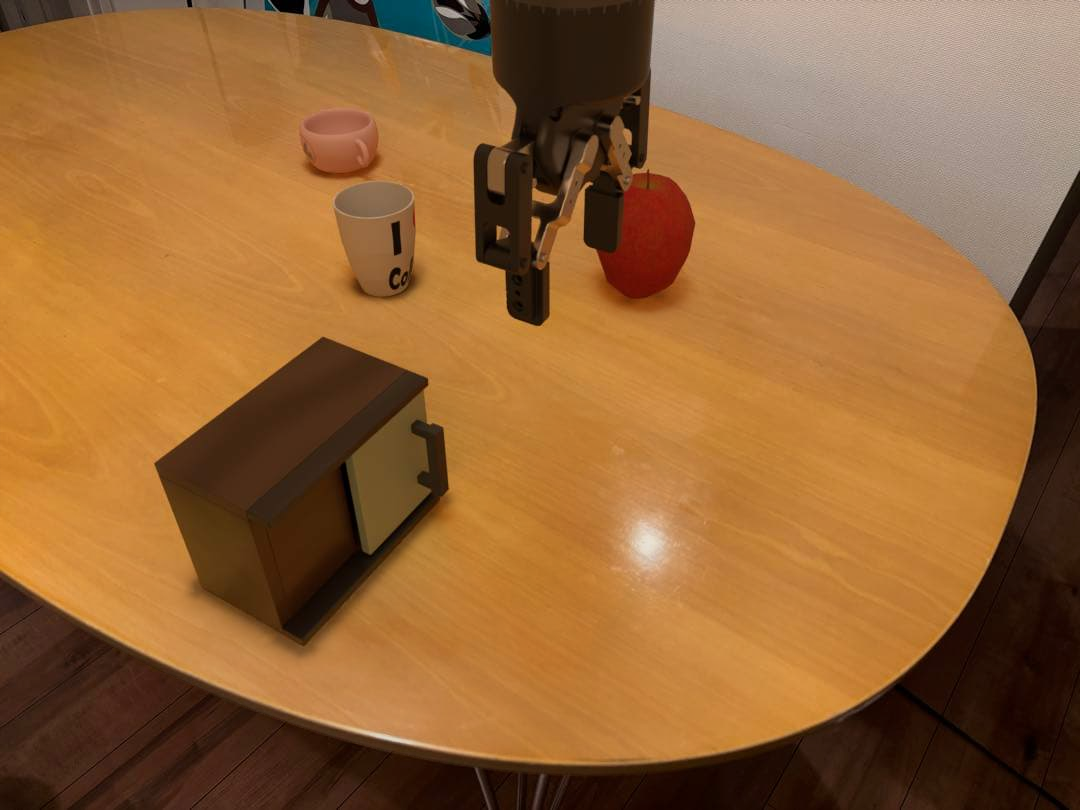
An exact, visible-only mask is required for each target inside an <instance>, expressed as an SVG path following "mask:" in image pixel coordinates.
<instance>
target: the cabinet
mask: <svg viewBox="0 0 1080 810" xmlns="http://www.w3.org/2000/svg"><path fill="white" fill-rule="evenodd" d="M428 387H429V377H427V376H424V375H421V374H419V373H416V372H414V371H411V370H408V369H406V368H404V367H401V366H399V365H396V364H394V363H391V362H389V361H386V360H384V359H381V358H378V357H376V356H374V355H371V354H368V353H365V352H364V351H361V350H358V349H356V348H353V347H350V346H348V345H346V344H343V343H341V342H337V341H335V340H333V339H330V338H328V337H325V336H321V337H320V338H319V339H317V340H316V341H315V342H313V343H312V344H311V345H310V346H308V347H307V348H305V349H304V350H303V351H302V352H300V353H299V354H297V355H296V356H294V357H293V358H292V359H291V360H289V361H288V362H286V363H285V364H284V365H283V366H282V367H280V368H279V369H278V370H276V371H275V372H273V373H272V374H271V375H269V376H268V377H267V378H265V379H264V380H263V381H261V382H260V383H259V384H258V385H256V386H255V387H253V388H252V389H251V390H249V391H248V392H247V393H245V394H244V395H242V397H240V398H239V399H238V400H236V401H234V402H233V403H232V404H231V405H230V406H228V407H226V408H225V409H224V410H223V411H221V412H220V413H219V414H217V415H216V416H215V417H213V418H212V419H211V420H209V421H208V422H207V423H205V424H204V425H203V426H201V427H200V428H199V429H197V430H196V431H195V432H193V433H192V434H190V436H188V437H187V438H185V439H184V440H183V441H182V442H180V443H179V444H178V445H176V446H175V447H173V448H172V449H171V450H169V451H167V453H166V454H164V455H163V456H161V457H160V458H159V459H157V460H156V461H155V462H154V463H153V465H154V467H155V470H156V472H157V475H158V478H159V481H160V482H161V486H162V488H163V491H164V493H165V495H166V499H167V501H168V503H169V506H170V509H171V511H172V514H173V517H174V519H175V521H176V524H177V527H178V529H179V532H180V534H181V537H182V539H183V542H184V545H185V548H186V550H187V552H188V556H189V557H190V558H189V559H190V561H191V563H192V565H193V568H194V571H195V573H196V576H197V579H198V581H199V584H200V586H201V588H203V589H204V590H206V591H208V592H209V593H211V594H213V595H215V596H216V597H218V598H220V599H221V600H223V601H224V602H226V603H228V604H229V605H232V606H234V607H235V608H237V609H239V610H240V611H242V612H244V613H246V614H247V615H249V616H250V617H253V618H255V619H256V620H258V621H259V622H261V623H264V625H267V626H268V627H270V628H272V629H273V630H275V631H276V632H278V633H280V634H282V635H283V636H286V637H288V638H289V639H291V640H292V641H295V642H296V643H298V644H299V645H302V646H305V645H306V644H307V643H308V641H310V640H311V639H312V638H313V636H315V634H316V633H317V632H318V631H319V630H320V629H321V628H322V627H323V626H324V624H326V622H327V621H328V620H329V619H330V618H331V617H332V616H333V615H334V614H335V613H336V612H337V611H338V610H339V608H341V607H342V605H343V604H345V602H346V601H347V600H348V599H349V598H350V597H351V596H352V595H353V594H354V593H355V591H356V590H357V589H358V588H360V586H361V585H362V584H363V583H364V582H365V581H366V580H367V578H368V577H369V576H371V574H373V572H374V571H375V570H376V569H377V568H378V567H379V566H380V565H381V564H382V563H383V561H385V560H386V558H388V556H389V555H390V554H391V553H392V552H393V551H394V550H395V549H396V548H397V547H398V546H399V544H401V542H402V541H403V540H404V539H405V538H406V537H407V536H408V535H409V534H410V533H411V532H412V531H413V530H414V528H415V527H416V526H417V525H418V524H419V523H420V522H421V521H422V520H423V519H424V518H425V516H427V514H428V513H429V512H430V511H431V510H432V509H433V508H434V507H435V506H436V505H437V503H439V501H440V500H441V497H440V496H438V495H436V494H434V493H432V492H430V493H429V494H428V495H427V497H426V498H425V499H424V500H423V501H422V502H421V503H420V504H419V505H418V506H417V507H416V508H415V509H414V510H413V511H412V512H411V513H410V514H409V515H408V516H407V517H406V519H405V520H404V521H403V522H402V523H401V524H400V525H399V526H398V527H397V528H396V529H395V530H394V531H393V532H392V533H391V534H390V535H389V536H388V537H387V538H386V539H385V541H384V542H383V543H382V544H381V545H380V546H379V547H378V548H377V549H376V550H375V551H374V552H373V553H372V554H371V555H369V554H367V553H365V552H363V551H362V545H361V540H360V535H359V530H358V525H357V519H356V514H355V509H354V504H353V499H352V493H351V488H350V483H349V478H348V472H347V467H346V462H345V461H346V460H347V459H348V458H349V457H350V456H351V455H353V454H354V453H355V452H356V451H357V450H358V449H359V448H360V447H361V446H362V445H363V444H365V443H366V442H367V441H368V440H369V439H370V438H371V437H372V436H373V435H374V434H376V433H377V432H378V431H379V430H380V429H381V428H382V427H383V426H384V425H385V424H387V423H388V422H389V421H390V420H391V419H392V418H393V417H394V416H395V415H396V414H398V413H399V412H400V411H401V410H402V409H403V408H404V407H405V406H406V405H407V404H408V403H410V402H411V401H412V400H413V399H414V398H415V397H416V396H417V395H418V394H419V393H421V392H422V391H423V390H424V391H425V389H426V388H428Z"/></svg>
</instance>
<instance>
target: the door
mask: <svg viewBox="0 0 1080 810" xmlns="http://www.w3.org/2000/svg"><path fill="white" fill-rule="evenodd" d="M425 397H426V396H425V389H424V390H423V391H422V392H421V393H419V394H418V395H417V396H416V397H415V398H414V399H413V400H412V401H411V402H410V403H408V404H407V405H406V406H405V407H404V408H403V409H402V410H401V411H400V412H399V413H398V414H396V415H395V416H394V417H393V418H392V419H391V420H390V421H389V422H388V423H387V424H385V425H384V426H383V427H382V428H381V429H380V430H379V431H378V432H377V433H376V434H374V435H373V436H372V437H371V438H370V439H369V440H368V441H367V442H366V443H365V444H363V445H362V446H361V447H360V448H359V449H358V450H357V451H356V452H355V453H354V454H353V455H351V456H350V457H349V458H348V459H347V460H346V461H345V462H346V467H347V472H348V478H349V483H350V488H351V493H352V499H353V504H354V509H355V514H356V519H357V525H358V530H359V535H360V540H361V545H362V551H363V552H365V553H367V554H369V555H371V554H372V553H373V552H374V551H375V550H376V549H377V548H378V547H379V546H380V545H381V544H382V543H383V542H384V541H385V539H386V538H387V537H388V536H389V535H390V534H391V533H392V532H393V531H394V530H395V529H396V528H397V527H398V526H399V525H400V524H401V523H402V522H403V521H404V520H405V519H406V517H407V516H408V515H409V514H410V513H411V512H412V511H413V510H414V509H415V508H416V507H417V506H418V505H419V504H420V503H421V502H422V501H423V500H424V499H425V498H426V497H427V495H428V494H429V493H430V492H432V493H434V494H436V495H438V496H440V498H442V497H443V496H444V495H445V494H446V493H447V492H448V491H449V490H450V486H449V485H450V484H449V475H448V465H447V464H448V463H447V462H448V461H447V451H446V441H445V430H444V429H445V428H444V427H443V426H441V425H439V424H436V423H434V422H432V423H431V424H430V423H428V418H427V408H426V399H425Z"/></svg>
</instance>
